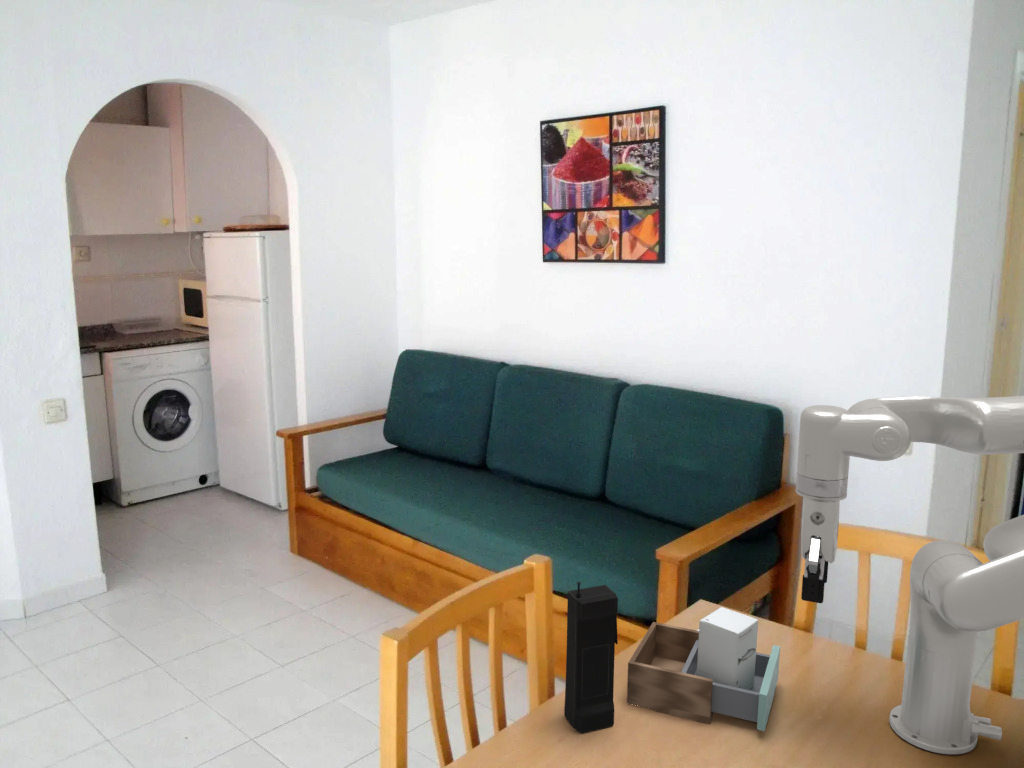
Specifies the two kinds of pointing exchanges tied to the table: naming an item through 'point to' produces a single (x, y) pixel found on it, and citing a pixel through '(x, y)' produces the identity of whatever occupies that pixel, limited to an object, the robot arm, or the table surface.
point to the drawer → (743, 701)
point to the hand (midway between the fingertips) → (814, 590)
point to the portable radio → (590, 658)
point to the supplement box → (728, 648)
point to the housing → (668, 675)
